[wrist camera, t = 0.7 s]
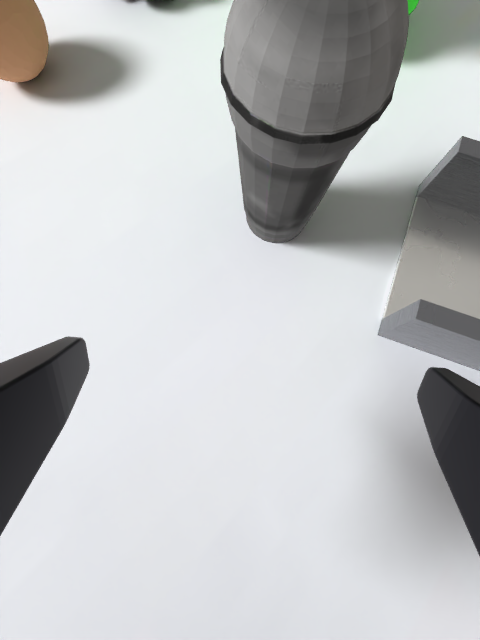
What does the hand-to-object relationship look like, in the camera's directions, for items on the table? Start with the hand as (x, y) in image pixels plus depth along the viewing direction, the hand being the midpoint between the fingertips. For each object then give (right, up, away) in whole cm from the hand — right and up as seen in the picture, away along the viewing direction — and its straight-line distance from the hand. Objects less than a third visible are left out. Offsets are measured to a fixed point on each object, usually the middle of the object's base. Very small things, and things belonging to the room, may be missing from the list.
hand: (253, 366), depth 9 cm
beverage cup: (+2, +9, +16) cm, 19 cm away
